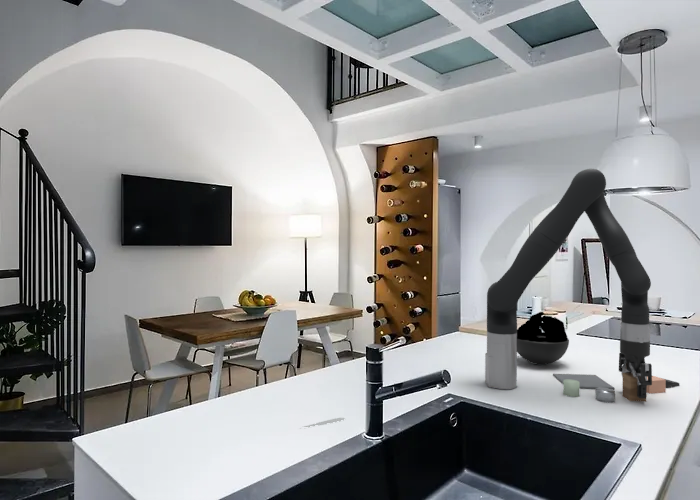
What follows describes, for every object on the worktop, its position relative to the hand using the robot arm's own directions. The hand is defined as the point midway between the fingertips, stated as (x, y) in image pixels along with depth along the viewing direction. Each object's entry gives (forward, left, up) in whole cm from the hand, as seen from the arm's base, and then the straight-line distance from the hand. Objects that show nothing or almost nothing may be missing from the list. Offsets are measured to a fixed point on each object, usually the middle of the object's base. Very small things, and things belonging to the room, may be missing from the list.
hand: (634, 393), depth 137 cm
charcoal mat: (-9, +15, -2) cm, 18 cm away
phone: (+14, +19, -2) cm, 24 cm away
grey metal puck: (-9, -2, -2) cm, 9 cm away
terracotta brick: (+9, +8, -2) cm, 12 cm away
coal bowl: (-16, +37, -2) cm, 40 cm away
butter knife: (-94, -32, -2) cm, 99 cm away
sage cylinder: (-17, +2, -2) cm, 17 cm away
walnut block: (0, 0, -2) cm, 2 cm away
